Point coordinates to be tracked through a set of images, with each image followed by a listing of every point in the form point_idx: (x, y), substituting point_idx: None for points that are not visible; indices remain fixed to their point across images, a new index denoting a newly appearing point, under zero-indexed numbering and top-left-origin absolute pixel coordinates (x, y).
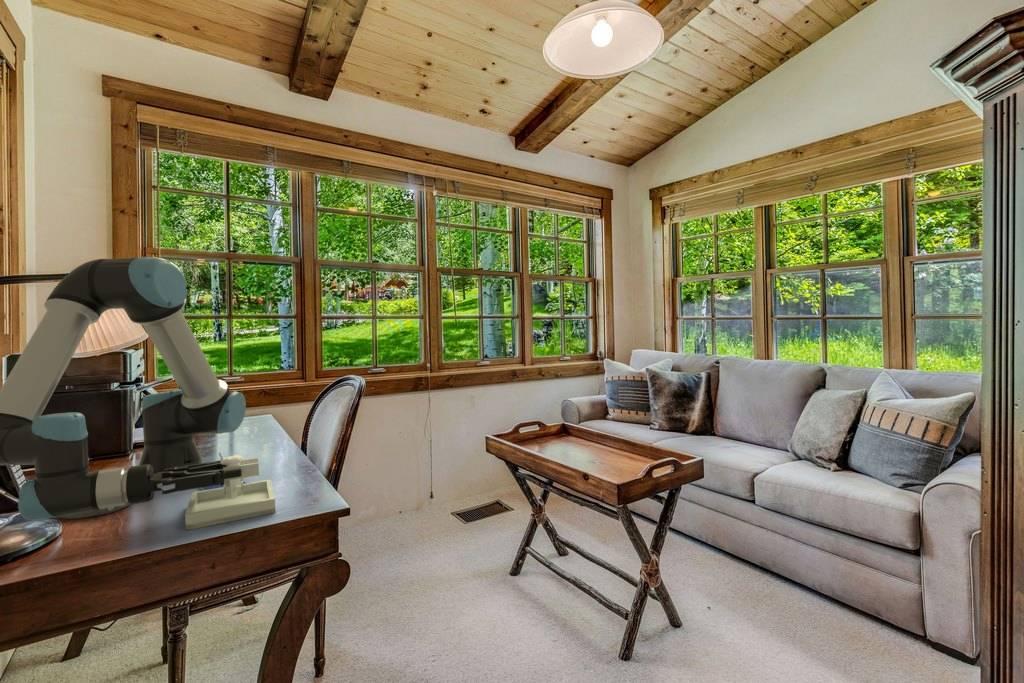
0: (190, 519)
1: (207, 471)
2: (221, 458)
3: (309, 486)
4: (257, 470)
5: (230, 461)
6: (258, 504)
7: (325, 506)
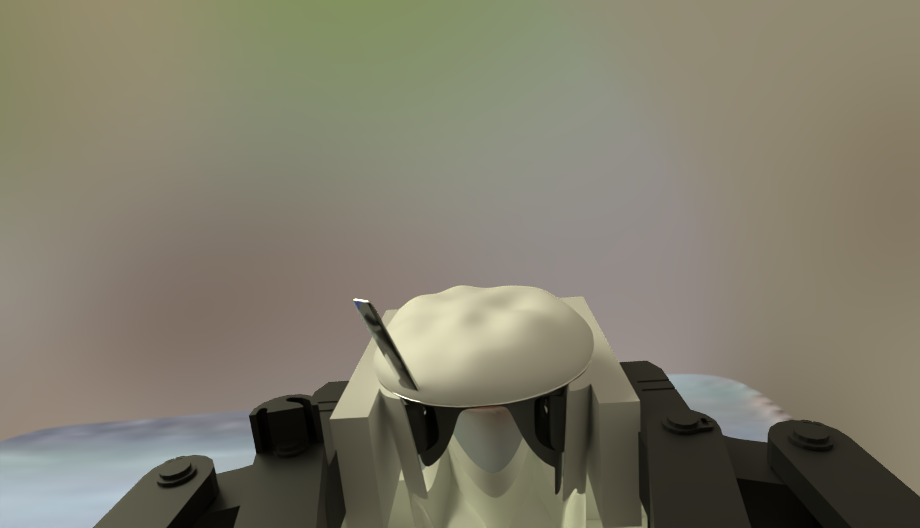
0: None
1: (700, 520)
2: (405, 363)
3: None
4: None
5: (587, 325)
6: None
7: (689, 395)
